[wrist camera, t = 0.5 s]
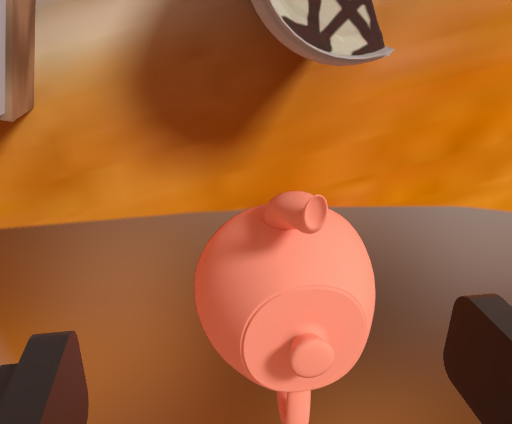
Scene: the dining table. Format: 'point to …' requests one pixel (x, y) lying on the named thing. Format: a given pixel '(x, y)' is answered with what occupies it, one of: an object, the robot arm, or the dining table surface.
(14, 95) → the bottom slab
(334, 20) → the food container
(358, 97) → the dining table surface
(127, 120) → the dining table surface
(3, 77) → the top slab
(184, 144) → the dining table surface
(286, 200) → the teapot
